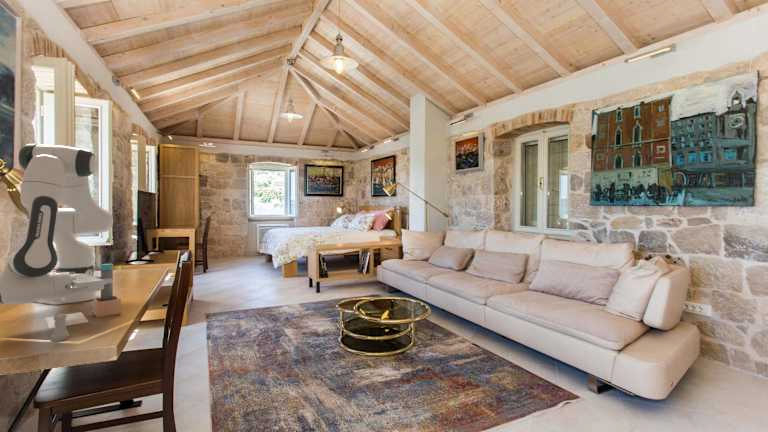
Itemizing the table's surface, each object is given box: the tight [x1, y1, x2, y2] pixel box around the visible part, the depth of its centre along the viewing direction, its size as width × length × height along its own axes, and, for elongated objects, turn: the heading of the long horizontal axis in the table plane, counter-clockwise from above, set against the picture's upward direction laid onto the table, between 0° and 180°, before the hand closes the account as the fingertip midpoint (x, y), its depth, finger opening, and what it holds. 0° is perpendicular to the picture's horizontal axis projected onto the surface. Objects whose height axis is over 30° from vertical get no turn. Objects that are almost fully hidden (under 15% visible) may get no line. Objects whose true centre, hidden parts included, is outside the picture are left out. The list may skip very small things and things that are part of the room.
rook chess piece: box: [50, 312, 70, 344], centre depth 113 cm, size 4×4×8 cm
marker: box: [99, 263, 114, 301], centre depth 138 cm, size 4×4×14 cm
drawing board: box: [45, 311, 89, 329], centre depth 130 cm, size 20×13×1 cm, turn 46°
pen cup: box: [92, 295, 122, 318], centre depth 139 cm, size 7×7×6 cm
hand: (109, 279), depth 139 cm, fingers closed on marker, 4 cm apart
